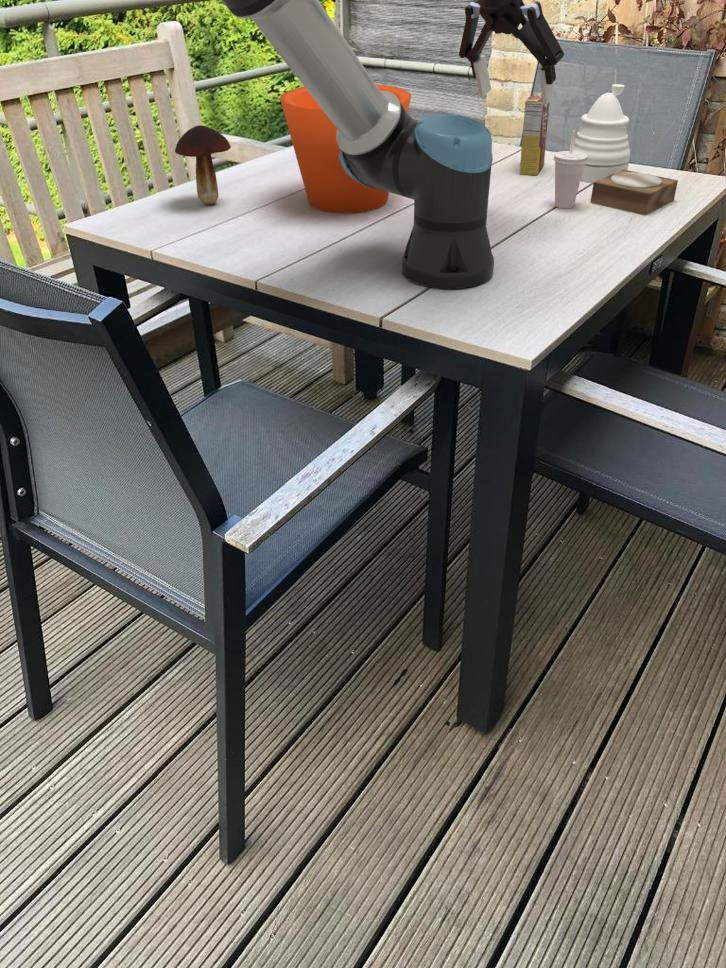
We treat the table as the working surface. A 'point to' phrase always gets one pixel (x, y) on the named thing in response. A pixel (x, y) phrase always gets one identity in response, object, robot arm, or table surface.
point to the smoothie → (568, 175)
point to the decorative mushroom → (203, 158)
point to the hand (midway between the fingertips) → (516, 96)
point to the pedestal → (634, 191)
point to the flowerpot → (328, 155)
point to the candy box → (534, 135)
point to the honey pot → (604, 138)
